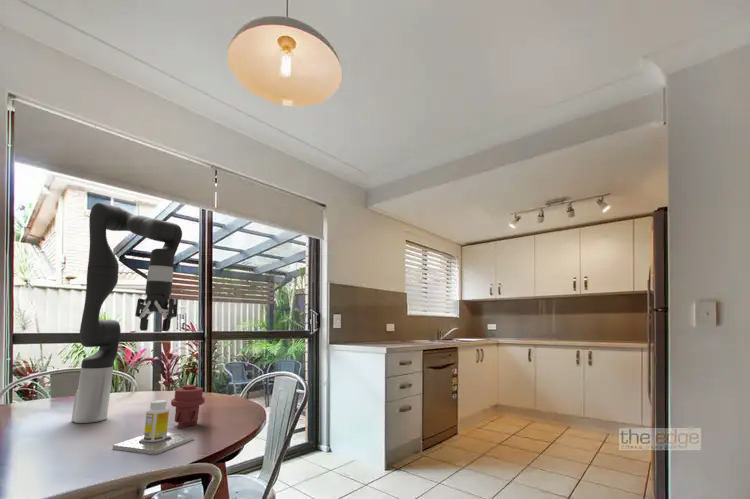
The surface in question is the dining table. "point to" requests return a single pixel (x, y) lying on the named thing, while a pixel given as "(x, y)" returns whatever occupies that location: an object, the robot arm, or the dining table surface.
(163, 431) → the supplement bottle
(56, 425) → the dining table surface
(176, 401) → the mechanical component
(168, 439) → the seat plate
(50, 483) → the dining table surface
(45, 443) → the dining table surface
